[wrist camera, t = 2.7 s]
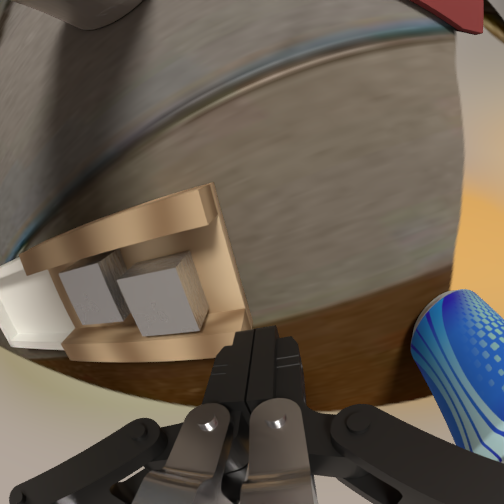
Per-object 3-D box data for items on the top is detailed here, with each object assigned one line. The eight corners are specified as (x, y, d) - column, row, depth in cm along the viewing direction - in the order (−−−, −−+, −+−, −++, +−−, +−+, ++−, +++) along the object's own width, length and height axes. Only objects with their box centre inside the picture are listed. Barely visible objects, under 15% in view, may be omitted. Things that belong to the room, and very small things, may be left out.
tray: (47, 244, 20) (27, 255, 18) (87, 333, 24) (73, 350, 21) (-8, 269, 23) (-22, 278, 20) (23, 335, 26) (11, 346, 23)
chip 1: (119, 248, 19) (97, 263, 16) (140, 300, 20) (123, 321, 17) (80, 259, 19) (58, 273, 16) (100, 306, 21) (82, 325, 18)
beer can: (391, 356, 22) (448, 502, 7) (428, 276, 19) (546, 417, 4) (450, 356, 22) (512, 467, 7) (485, 288, 19) (581, 388, 4)
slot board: (213, 182, 18) (198, 189, 14) (252, 321, 21) (248, 353, 17) (46, 240, 20) (18, 254, 17) (90, 337, 24) (70, 360, 20)
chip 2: (189, 250, 18) (175, 267, 15) (209, 307, 20) (199, 330, 17) (136, 262, 19) (116, 279, 16) (157, 314, 20) (142, 336, 17)
